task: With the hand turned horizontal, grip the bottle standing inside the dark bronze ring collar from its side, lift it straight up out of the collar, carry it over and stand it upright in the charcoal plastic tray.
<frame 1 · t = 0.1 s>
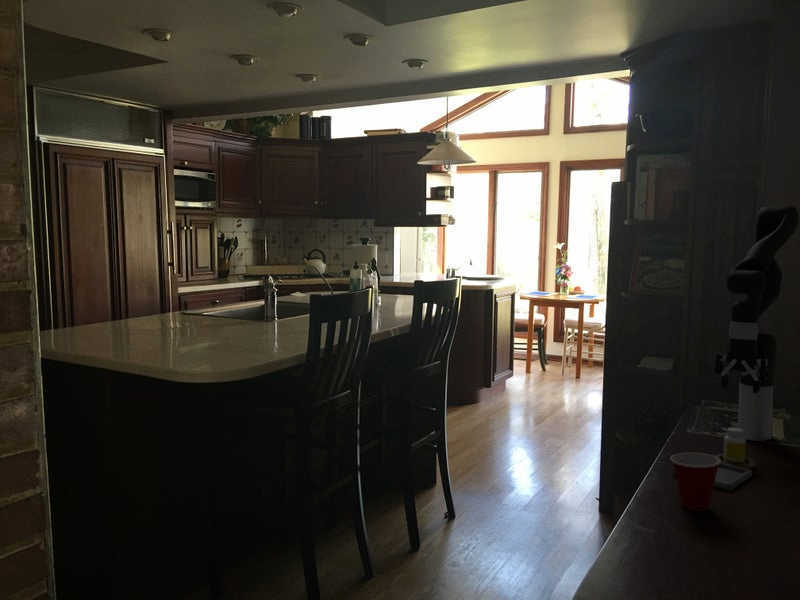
hand: (739, 390, 190), 17 cm above the table, tool pointing down, fingers open, 8 cm apart
tray: (713, 476, 169), on the table
ring collar: (734, 463, 178), on the table
plastic cup: (693, 507, 150), on the table
supplement bottle: (734, 464, 178), resting in ring collar
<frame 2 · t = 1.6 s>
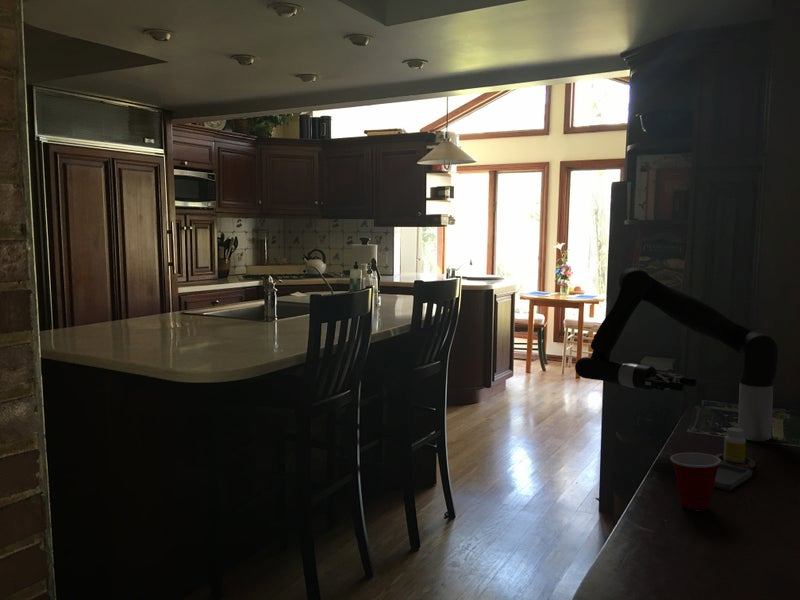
hand: (689, 385, 186), 20 cm above the table, tool horizontal, fingers open, 8 cm apart
nothing on the table moved.
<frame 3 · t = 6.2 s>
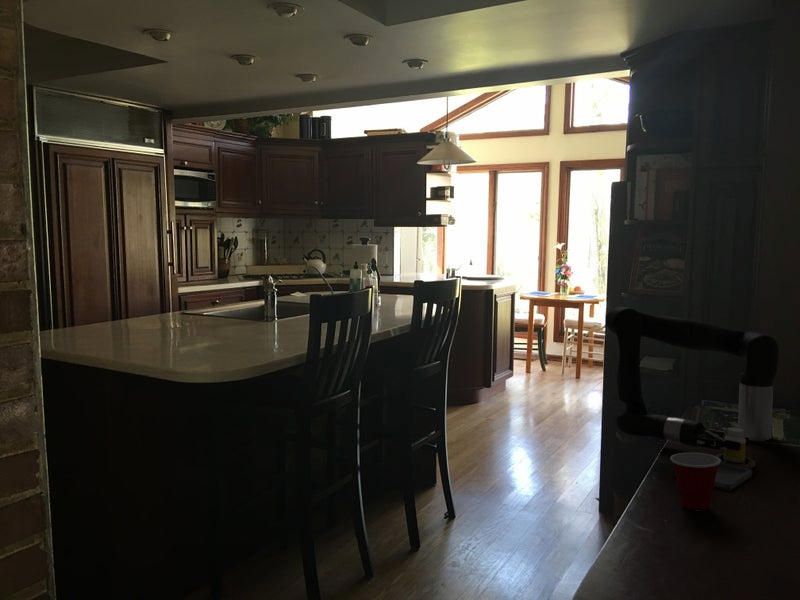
hand: (744, 444, 175), 6 cm above the table, tool horizontal, fingers closed on supplement bottle, 5 cm apart
supplement bottle: (734, 464, 178), resting in ring collar, touching gripper
everything else where it was.
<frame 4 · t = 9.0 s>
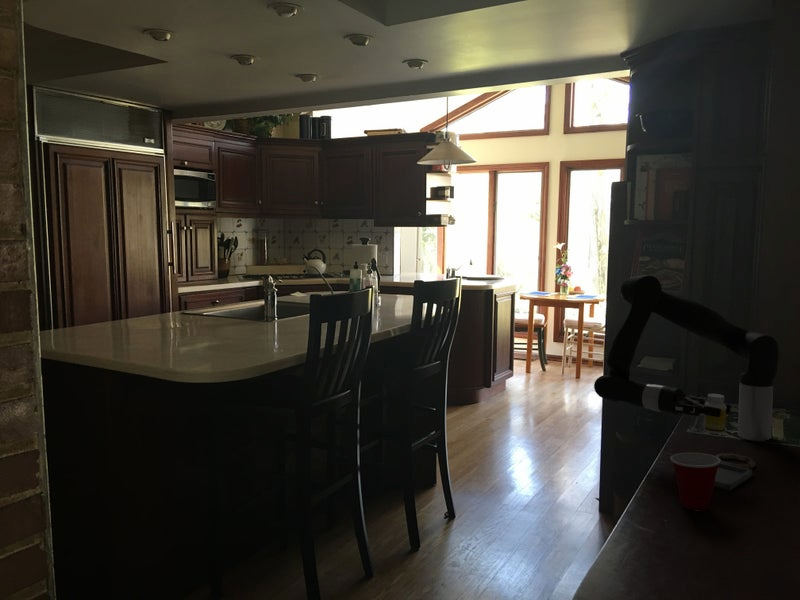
hand: (725, 411, 166), 18 cm above the table, tool horizontal, fingers closed on supplement bottle, 5 cm apart
supplement bottle: (714, 432, 169), point 12 cm above the table, touching gripper
everything else where it was.
when the fingers open (7 cm above the table, at t = 12.0 s): supplement bottle stays where it is, resting on tray.
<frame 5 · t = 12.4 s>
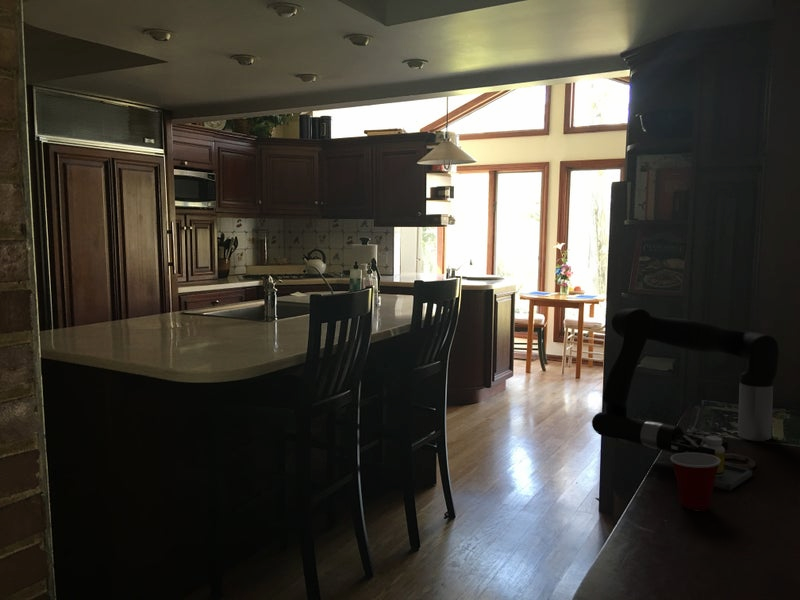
hand: (721, 450, 166), 8 cm above the table, tool horizontal, fingers open, 8 cm apart
supplement bottle: (712, 474, 169), resting on tray
everything else where it was.
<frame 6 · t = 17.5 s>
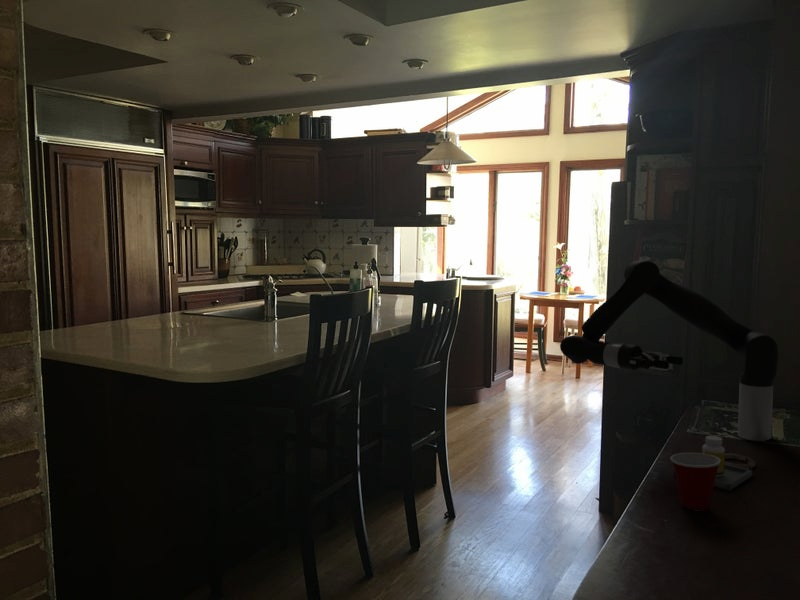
hand: (675, 363, 179), 28 cm above the table, tool horizontal, fingers open, 8 cm apart
nothing on the table moved.
at the end: supplement bottle inside the target area on the tray (0.1 cm from its centre), point 0.4 cm above the tray's base; supplement bottle tilted 0°; the gripper is holding nothing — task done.
